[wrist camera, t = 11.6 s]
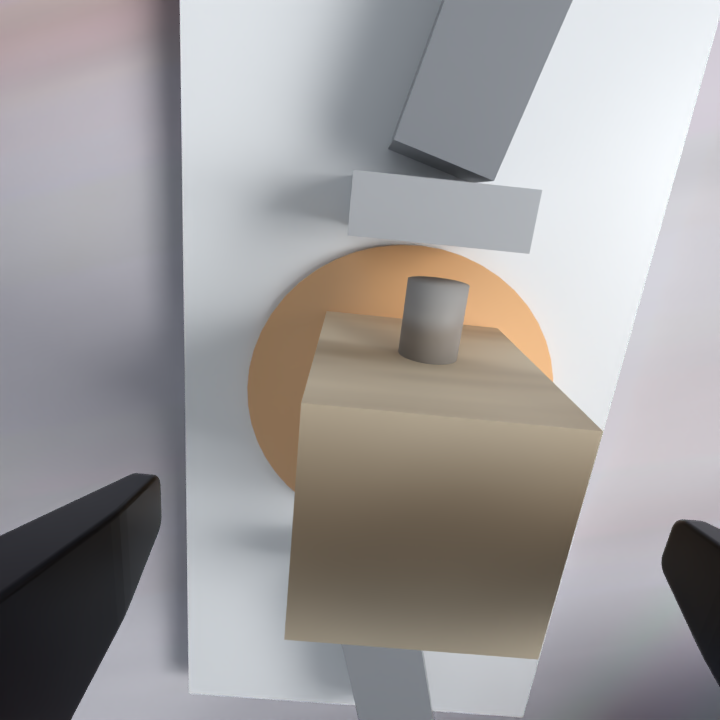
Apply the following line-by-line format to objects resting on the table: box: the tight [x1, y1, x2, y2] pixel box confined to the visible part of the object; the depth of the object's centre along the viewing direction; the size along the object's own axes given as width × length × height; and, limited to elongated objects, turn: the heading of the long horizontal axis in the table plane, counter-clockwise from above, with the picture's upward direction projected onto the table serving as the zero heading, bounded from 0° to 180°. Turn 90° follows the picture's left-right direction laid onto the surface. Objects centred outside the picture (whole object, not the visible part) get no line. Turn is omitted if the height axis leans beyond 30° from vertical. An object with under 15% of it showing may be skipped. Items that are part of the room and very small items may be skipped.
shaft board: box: [180, 0, 720, 720], centre depth 13 cm, size 24×12×4 cm, turn 174°
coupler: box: [284, 276, 603, 660], centre depth 11 cm, size 8×4×6 cm, turn 174°
